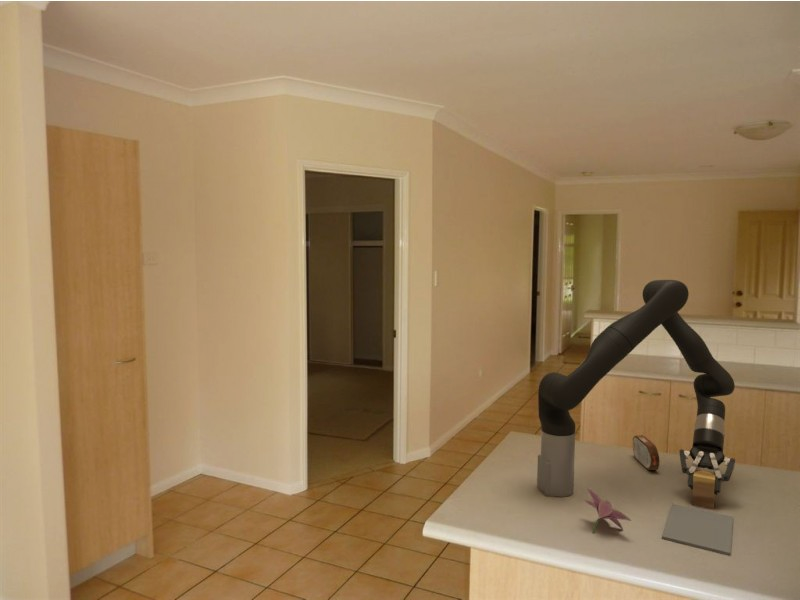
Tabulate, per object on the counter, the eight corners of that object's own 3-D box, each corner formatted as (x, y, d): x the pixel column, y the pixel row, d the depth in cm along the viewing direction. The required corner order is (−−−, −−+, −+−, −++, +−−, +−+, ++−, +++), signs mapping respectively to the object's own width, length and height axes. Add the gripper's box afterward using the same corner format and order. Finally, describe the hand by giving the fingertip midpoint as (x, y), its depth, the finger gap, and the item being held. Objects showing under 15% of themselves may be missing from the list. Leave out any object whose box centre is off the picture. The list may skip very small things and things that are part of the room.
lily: (632, 548, 132) (643, 507, 134) (587, 530, 131) (598, 489, 134) (606, 538, 143) (616, 501, 146) (564, 522, 143) (575, 484, 145)
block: (713, 509, 149) (714, 479, 148) (692, 504, 152) (693, 475, 151) (714, 501, 153) (715, 473, 152) (693, 497, 156) (695, 469, 155)
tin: (660, 474, 172) (661, 447, 171) (649, 474, 172) (650, 447, 171) (640, 456, 187) (641, 431, 186) (630, 456, 187) (631, 431, 186)
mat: (730, 555, 127) (730, 552, 127) (661, 538, 134) (661, 536, 134) (732, 518, 144) (733, 516, 144) (672, 505, 151) (672, 503, 151)
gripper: (680, 423, 161) (673, 478, 152) (738, 431, 153) (735, 491, 144) (681, 435, 166) (674, 490, 157) (738, 445, 158) (734, 503, 149)
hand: (703, 490), depth 150 cm, fingers closed on block, 5 cm apart
